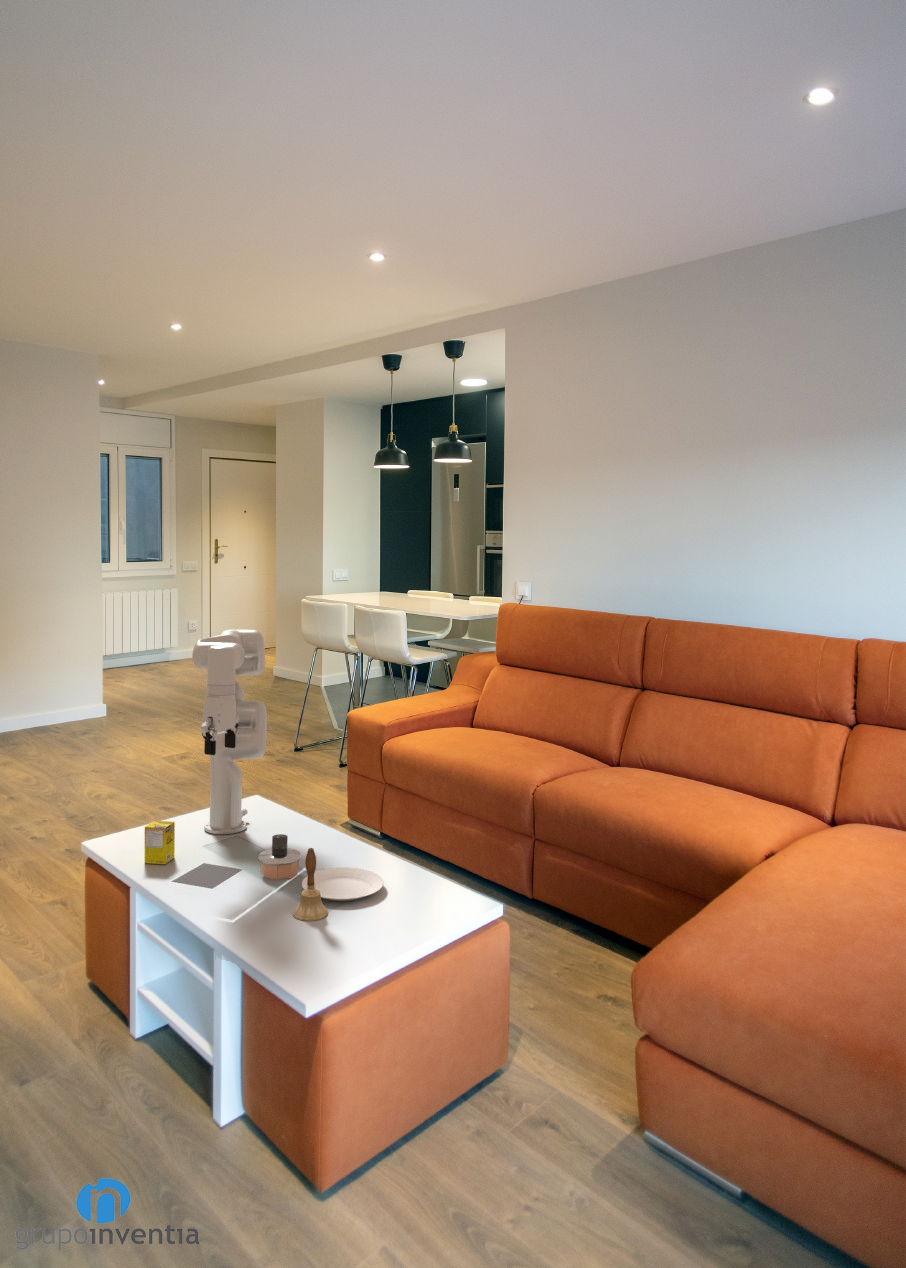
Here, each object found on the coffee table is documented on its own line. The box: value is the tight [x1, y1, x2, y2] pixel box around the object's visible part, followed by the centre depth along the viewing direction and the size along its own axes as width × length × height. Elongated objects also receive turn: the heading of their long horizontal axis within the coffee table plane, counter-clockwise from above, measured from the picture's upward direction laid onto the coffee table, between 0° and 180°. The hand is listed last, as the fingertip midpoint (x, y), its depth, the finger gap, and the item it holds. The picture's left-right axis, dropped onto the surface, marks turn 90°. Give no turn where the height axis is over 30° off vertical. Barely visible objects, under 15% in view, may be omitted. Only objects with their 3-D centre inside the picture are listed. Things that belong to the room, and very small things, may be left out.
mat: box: [171, 862, 243, 889], centre depth 211 cm, size 14×12×1 cm
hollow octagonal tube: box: [260, 860, 299, 880], centre depth 215 cm, size 9×9×4 cm
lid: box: [257, 833, 301, 865], centre depth 214 cm, size 11×11×6 cm
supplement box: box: [144, 820, 176, 866], centre depth 219 cm, size 6×6×11 cm
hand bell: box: [292, 847, 329, 922], centre depth 190 cm, size 8×8×16 cm
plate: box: [301, 866, 385, 902], centre depth 206 cm, size 21×21×2 cm
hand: (220, 750), depth 224 cm, fingers open, 9 cm apart
